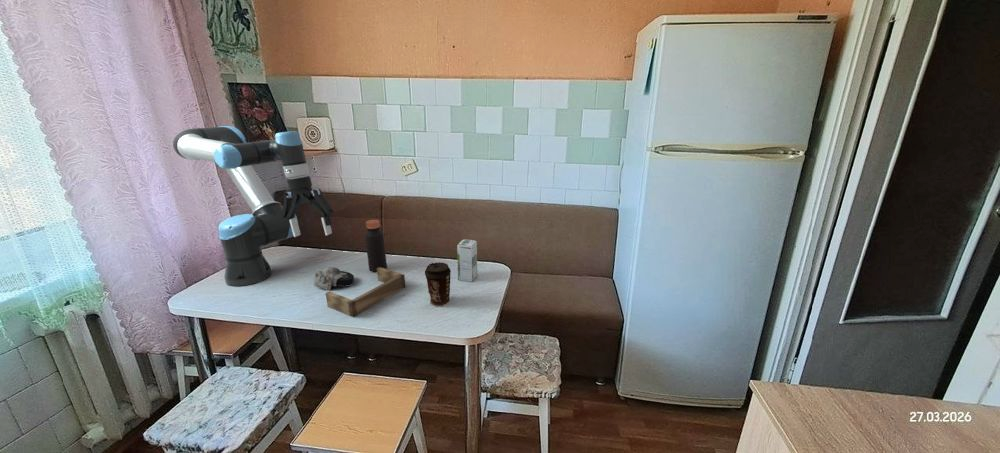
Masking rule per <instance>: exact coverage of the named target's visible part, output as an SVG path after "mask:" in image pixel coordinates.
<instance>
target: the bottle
mask: <svg viewBox="0 0 1000 453" xmlns="http://www.w3.org/2000/svg"><path fill="white" fill-rule="evenodd" d="M365 226H366V229H367V231H366V233H365V234H364V237H365V238H364V239H365V247H366V248H365V249H366V255H367V262H368V270H369V271H370V273H375V274H377V268H379V267H381V268H384V269H387V268H388V262H387V256H386V247H385V246H386V243H385V237H384V232H383V231H382V230H381V229H380V228H381V223H380V220H379V219H369V220H366V221H365Z"/></svg>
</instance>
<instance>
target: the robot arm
mask: <svg viewBox="0 0 1000 453" xmlns="http://www.w3.org/2000/svg"><path fill="white" fill-rule="evenodd" d="M274 137H275V139H269V140H266V139H265V140H261V141H253V142H252V141H250V142H247V140H246V137H245V135H244V134H243V132H241V130H240V129H238V128H237V127H235V126H231V125H230V126H227V125H226V126H225V125H221V126H217V127H215V126H214V127H198V128H194V127H193V128H188V129H185V130H182V131H180V132H179V133H177V135H176V136H175V137H174V138H173V140H172V148H173V149H174V151H175V153H176V155H178V156H180V157H181V158H183V159H186V160H190V161H199V160H204V161H208V162H213V163H216V164H217V165H218V166H219V168H221V169H222V170H225V171H226V172H227V174H228V176H229V177H230V178H231V180H232V181H233V183H234V185H235V186H236V188H237V190H238V191H239V192H240V194H241V196H242V197H243V199H244V200H245V202H246V203H247V205H248V206H249V208H250V210H251V211H252V212H251V213H243V214H237V215H233V216H230V217H228V218H226V219H224V220H223V221H221V222H220V224H219V225H218V234H219V236H218V237H219V240H220V242H221V246H222V249H223V255H224V258H225V261H226V263H225V271H224V276H223V277H224V281H225V284H226V285H228V286H232V287H242V286H249V285H253V284H256V283H259V282H262V281H264V280H266V279H268V278H270V276H271V275H272V273H273V271H272V266H271V264H269V262H268V261H267V259H266V258H265V256H264V254H263V250H262V247H265V246H267V245H271V244H274V243H277V242H281V241H284V240H287V239H289V238H292V237H294V238H296V237H299V236H301V235H302V233H301V231H300V226H299V220H298V216H297V215H296V214H297V211H298V209H299V207H300V205H301V204H308V205H310V206H312V207H313V208H314V210H315V211H317V212H318V213H319V214H320V216H321V217H320V219H321V223H322V227H323V230H324V231H323V232H324V234H325V236H328V235H331V234H332V233H333V232H332V231H333V230H332V227H331V225H332V221H331V215H333V214H335V211H334V210H333V208H332V207H331V205H330V203H329V202H328V201H327V200H326V198H325V197H324V195H323V193H322V190H321V188H315V189H313V188H312V186H313V183H312V178H311V176H310V171H309V167H308V163H307V158H306V154H305V149H304V145H303V141H302V139H301V134H300V133H299V132H298V131H297V130H290V131H282V132H277V133H275V135H274ZM277 162H281V163H282V166H283V167H282V168H283V170H284V175H285V178H287V179H286V183H287V188H288V190H289V191H285V192H283V205H282V203H281V202H280V201H275V200H274V198H273V197H272V195H271V193H270V191H268V189H267V187H266V186H265V185H264V183H263V181H262V180H261V178H260V177H259V176H258V174H257V172H256V171H255V169H254V168H253V166H255V165H262V164H263V165H264V164H270V163H277Z"/></svg>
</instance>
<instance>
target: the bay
mask: <svg viewBox="0 0 1000 453" xmlns="http://www.w3.org/2000/svg"><path fill="white" fill-rule="evenodd" d="M376 275H377V281H378V282H380V283H381V284H379V285H378V286H376V287H373V288H371V289H370V290H368V291H366V292H364V293H362V294H361V295H359V296H357V297H355V298H352V299H351V298H348V297H345V296H344V295H343V296H342V295H341V294H337V293H335V292H333V291H331V290H330V291H326V292H325V299H326V305H327V307H328V308H330V309H333V310H335V311H337V312H339V313H342V314H344V315H347V316H349V317H352V318H354V317H356V316H358V315H360V314H362V313H363V312H365V311H367V310H369V309H371V308H372V307H374V306H375V305H377V304H379V303H381V302H383V301H385V300H386V299H388V298H389V297H391V296H393V295H395V294H397V293H398V292H400V291H401V290H403V289H405V288H406V287H407V286H406V277H405V274H404V273H400V272H397V271H393V270H390V269H384V268H381V267H379V268H377V273H376Z"/></svg>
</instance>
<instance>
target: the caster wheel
mask: <svg viewBox="0 0 1000 453" xmlns="http://www.w3.org/2000/svg"><path fill="white" fill-rule="evenodd" d="M354 279H355V276H354V274H353V273H351V272H349V271H346V270H345V271H343V270H341V269H339V268H337V267H335V266H334V267H333V266H332V267H326V268H324V269H319V268H316V269H315V274H314V282H313V286H314V287H316V288H319V289H322V290H325V291H327V292H329V291H330V292H331V288H332V287H348V286H351V285H353V284H354Z"/></svg>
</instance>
